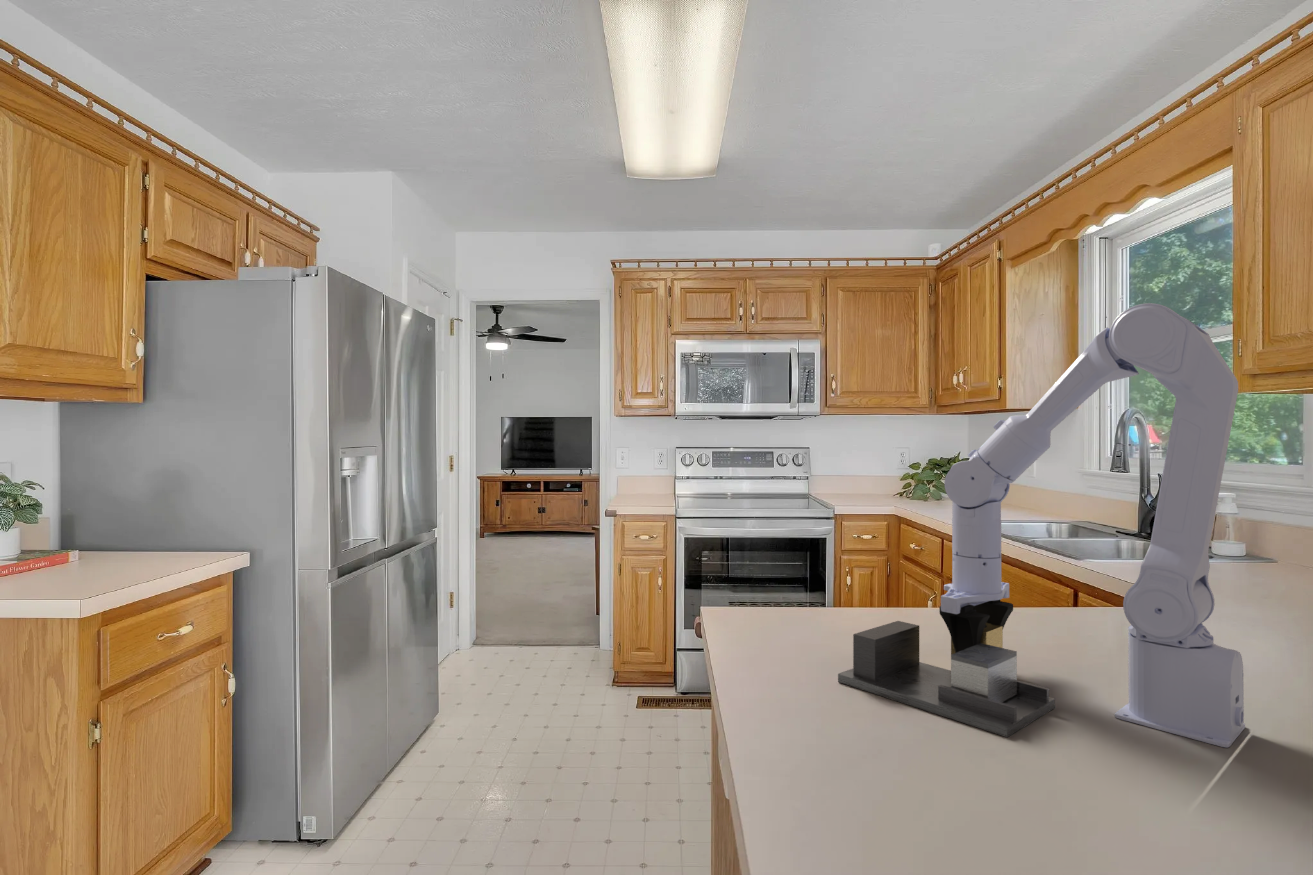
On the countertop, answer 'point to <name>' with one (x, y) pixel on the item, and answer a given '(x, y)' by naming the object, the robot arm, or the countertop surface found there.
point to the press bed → (934, 683)
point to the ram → (985, 671)
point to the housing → (989, 636)
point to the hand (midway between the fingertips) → (976, 660)
